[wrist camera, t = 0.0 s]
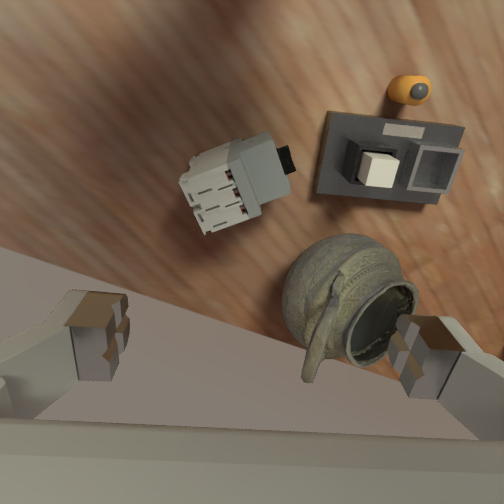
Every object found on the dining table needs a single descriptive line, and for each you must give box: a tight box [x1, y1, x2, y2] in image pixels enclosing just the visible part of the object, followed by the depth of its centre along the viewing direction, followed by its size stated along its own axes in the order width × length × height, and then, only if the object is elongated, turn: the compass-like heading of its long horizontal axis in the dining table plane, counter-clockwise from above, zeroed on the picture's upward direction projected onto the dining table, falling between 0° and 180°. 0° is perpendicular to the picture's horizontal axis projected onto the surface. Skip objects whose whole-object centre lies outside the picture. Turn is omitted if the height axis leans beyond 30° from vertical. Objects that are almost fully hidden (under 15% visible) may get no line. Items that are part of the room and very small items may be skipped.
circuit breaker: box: [179, 131, 296, 235], centre depth 49 cm, size 8×14×15 cm, turn 111°
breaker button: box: [356, 151, 400, 188], centre depth 48 cm, size 4×4×5 cm
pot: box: [281, 233, 419, 383], centre depth 54 cm, size 21×21×25 cm
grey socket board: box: [313, 111, 465, 205], centre depth 53 cm, size 12×20×8 cm, turn 84°
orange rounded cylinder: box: [387, 75, 431, 106], centre depth 49 cm, size 4×4×7 cm
